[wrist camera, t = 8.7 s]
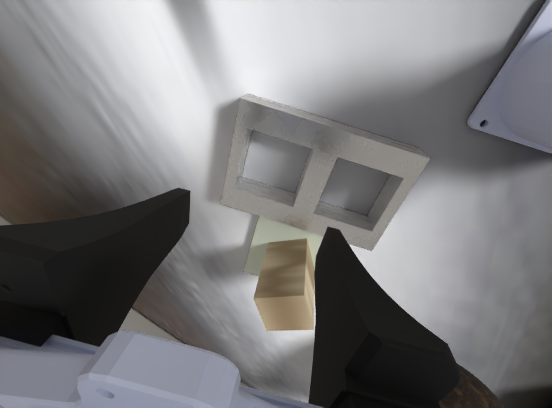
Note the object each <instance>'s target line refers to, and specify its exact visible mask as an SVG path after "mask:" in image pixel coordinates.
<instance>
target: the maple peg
mask: <svg viewBox="0 0 552 408" xmlns="http://www.w3.org/2000/svg"><path fill="white" fill-rule="evenodd" d="M254 301H255V303H256V306H257V308H258V311H259V313H260V315H261V318H262V320H263V323H264V325H265V328H266V330H267V331H278V330H314V265H313V261H312V257H311V252H310V248H309V244H308V239H307V238H304V239H295V240H286V241H277V242H268V246H267V249H266V253H265V257H264V261H263V265H262V268H261V272H260V276H259V280H258V284H257V287H256V291H255V295H254Z"/></svg>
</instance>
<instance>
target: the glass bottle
mask: <svg viewBox="0 0 552 408" xmlns="http://www.w3.org/2000/svg"><path fill="white" fill-rule="evenodd" d="M456 364H457V363H456ZM457 366H458V368H459V370H460V374H461V378H460V382H459V384H458V385H457V386H456V387H455V388H454V390H452V391H451V392H450V393H449V394H447V395H446V396H445V397H444V398H442V399H441V400H440V401H439V405H440V408H505V407H504V406H503V404H502V403H501V402H500V401H499V400H498V398H497V397H496V396H495V395H494V394H493V393H492V392H491V391H490V390H489V388H488V387H487V386H486V385H484V384H483V383H482V382H481V381H480V380H479V379H478V378H476V377H475V376H474V375H473V374H471V373H470V372H469V371H467V370H466V369H464V368H463V367H462V366H460V365H458V364H457Z"/></svg>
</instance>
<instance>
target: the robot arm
mask: <svg viewBox="0 0 552 408" xmlns="http://www.w3.org/2000/svg"><path fill="white" fill-rule="evenodd" d="M483 120H485V124H484V125H483V126H480V123H481V122H482V121H483ZM467 125H468V126H469V127H471V128H473V129H476V130H479V131H482V132H485V133H489V134H492V135H495V136H498V137H501V138H504V139H507V140H510V141H513V142H517V143H520V144H523V145H526V146H529V147H532V148H535V149H538V150H541V151H544V152H548V153H551V154H552V0H546V2H545V3H544V5H543V6H542V8H541V9H540V11H539V12H538V14H537V15H536V17H535V18H534V20H533V21H532V23H531V24H530V26H529V27H528V29H527V30H526V32H525V33H524V35H523V36H522V38H521V40H520V41H519V43H518V44H517V46H516V47H515V49H514V50H513V52H512V53H511V55H510V56H509V58H508V59H507V61H506V62H505V64H504V65H503V67H502V68H501V70H500V71H499V73H498V74H497V76H496V77H495V79H494V80H493V82H492V83H491V85H490V87H489V88H488V90H487V91H486V93H485V94H484V96H483V97H482V99H481V100H480V102H479V103H478V105H477V106H476V108H475V109H474V111H473V112H472V114H471V115H470V117H469V118H468V121H467ZM189 212H190V191H189V190H185V189H181V188H177V189H174V190H171V191H168V192H166V193H163V194H161V195H158V196H155V197H153V198H150V199H147V200H145V201H142V202H139V203H136V204H133V205H130V206H127V207H124V208H121V209H117V210H113V211H109V212H105V213H101V214H97V215H92V216H86V217H81V218H76V219H70V220H62V221H55V222H46V223H35V224H20V225H4V226H0V408H440V405H439V401H440V400H441V399H442V398H444V397H445V396H446V395H447V394H449V393H450V392H451V391H452V390H454V388H455V387H456V386H457V385H458V384H459V382H460V378H461V374H460V370H459V368H458V366H457V364H456V361H455V359H454V357H453V355H452V353H451V350H450V348H449V346H448V344H447V343H445V342H444V341H443V340H441V339H440V338H439V337H437V336H436V335H435V334H433V333H432V332H431V331H429V330H428V329H426V328H425V327H424V326H422V325H421V324H420V323H419V322H418V321H416V320H415V319H414V318H413V317H412V316H410V315H409V314H408V313H407V312H406V311H405V310H403V309H402V308H401V307H400V306H399V305H398V304H397V303H396V302H395V301H394V300H393V299H392V298H391V297H390V296H389V295H388V294H387V293H386V292H385V291H384V290H383V289H382V288H381V287H380V286H379V285H378V284H377V282H376V281H375V280H374V279H373V278H372V277H371V275H370V274H369V273H368V272H367V270H366V269H365V268H364V266H363V265H362V264H361V262H360V261H359V260H358V258H357V257H356V255H355V254H354V252H353V251H352V249H351V247H350V246H349V244H348V243H347V241H346V239H345V238H344V236H343V234H342V233H341V231H340V230H339V229H336V228H332V227H327V229H326V232H325V234H324V237H323V239H322V242H321V244H320V247H319V249H318V252H317V255H316V260H315V270H314V281H315V307H316V325H315V341H314V353H313V365H312V375H311V386H310V395H309V403H305V402H301V401H297V400H294V399H290V398H286V397H283V396H279V395H275V394H271V393H268V392H264V391H260V390H257V389H253V388H249V387H245V386H242V385H240V380H241V379H240V375H239V370H238V369H237V367H236V366H235V365H234V364H233V363H232V362H231V361H229V360H228V359H227V358H226V357H223V356H221V355H219V354H216V353H214V352H211V351H207V350H204V349H200V348H196V347H193V346H189V345H185V344H181V343H178V342H174V341H170V340H166V339H162V338H159V337H155V336H152V335H147V334H144V333H140V332H134V331H125V330H123V331H119V332H118V330H119V328H120V327H121V325H122V323H123V321H124V319H125V317H126V316H127V314H128V312H129V311H130V309H131V307H132V306H133V304H134V302H135V301H136V299H137V297H138V296H139V294H140V292H141V291H142V289H143V288H144V286H145V284H146V283H147V281H148V280H149V278H150V277H151V275H152V274H153V273H154V271H155V270H156V269H157V267H158V266H159V265H160V264H161V262H162V261H163V260H164V258H165V257H166V256H167V255H168V253H169V252H170V251H171V250H172V248H173V247H174V246H175V245H176V243H177V242H178V241H179V239H180V238H181V236H182V235H183V233H184V231H185V229H186V228H187V226H188V224H189Z"/></svg>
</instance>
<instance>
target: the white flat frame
mask: <svg viewBox="0 0 552 408" xmlns="http://www.w3.org/2000/svg"><path fill="white" fill-rule="evenodd" d="M252 130H253V131H257V132H260V133H263V134H266V135H269V136H272V137H275V138H279V139H282V140H285V141H288V142H291V143H294V144H298V145H301V146H304V147H307V148H310V149H311V152H310V154H309V157H308V160H307V163H306V165H305V168H304V171H303V174H302V176H301V179H300V182H299V185H298V188H297V190H296V193H292V192H289V191H286V190H282V189H279V188H276V187H273V186H270V185H267V184H263V183H260V182H257V181H254V180H251V179H247V178H244V177H242V173H243V169H244V164H245V160H246V155H247V151H248V146H249V142H250V137H251V133H252ZM337 157H339V158H342V159H345V160H348V161H351V162H354V163H358V164H361V165H364V166H367V167H370V168H373V169H377V170H380V171H383V172H386V173H389V174H390V176H389V178H388V179H387V181H386V183H385V185H384V187H383V188H382V190H381V192H380V194H379V195H378V197H377V199H376V201H375V202H374V204H373V206H372V208H371V210H370V211H369V213H368V215H367V216H366V215H362V214H359V213H356V212H353V211H350V210H346V209H343V208H340V207H337V206H334V205H330V204H327V203H324V202H321V201H319V199H320V197H321V195H322V192H323V190H324V188H325V185H326V183H327V181H328V178H329V176H330V174H331V171H332V169H333V167H334V164H335V162H336V159H337ZM429 160H430V158H429V157H428V156H427V155H426V154H424V153H423V152H422V151H421V150H420V149H419V148H417V147H414V146H411V145H407V144H404V143H401V142H398V141H395V140H392V139H389V138H385V137H382V136H379V135H376V134H373V133H370V132H367V131H364V130H360V129H357V128H354V127H351V126H348V125H345V124H342V123H338V122H335V121H332V120H329V119H326V118H323V117H320V116H316V115H313V114H310V113H307V112H304V111H301V110H298V109H295V108H291V107H288V106H285V105H282V104H279V103H276V102H273V101H269V100H266V99H263V98H260V97H257V96H254V95H251V94H247V95H245V96H243V97H241V98H240V101H239V106H238V112H237V117H236V123H235V128H234V133H233V139H232V144H231V150H230V155H229V160H228V166H227V171H226V177H225V182H224V187H223V193H222V198H221V203H220V204H222V205H225V206H229V207H232V208H235V209H238V210H241V211H245V212H248V213H251V214H254V215H258V216H261V217H264V218H267V219H270V220H274V221H277V222H280V223H283V224H287V225H290V226H293V227H296V228H299V229H303V230H306V231H309V232H312V233H315V234H319V235H322V236H324V234H325V232H326V229H327V227H332V228H336V229H339V230H340V231H341V233H342V234H343V236H344V238H345V239H346V241H347V243H348V244H351V245H354V246H357V247H361V248H364V249H367V250H370V251H372V250H373V248H374V247H375V245H376V243H377V242H378V240H379V239H380V237H381V236H382V234H383V232H384V231H385V229H386V228H387V226H388V225H389V223H390V221H391V220H392V218H393V217H394V215H395V214H396V212H397V210H398V209H399V207H400V206H401V204H402V202H403V201H404V199H405V198H406V196H407V195H408V193H409V191H410V190H411V188H412V187H413V185H414V184H415V182H416V180H417V179H418V177H419V176H420V174H421V172H422V171H423V169H424V168H425V166H426V165H427V163H428V161H429Z"/></svg>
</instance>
